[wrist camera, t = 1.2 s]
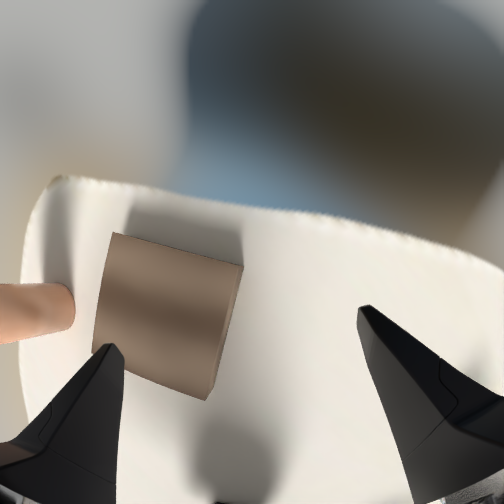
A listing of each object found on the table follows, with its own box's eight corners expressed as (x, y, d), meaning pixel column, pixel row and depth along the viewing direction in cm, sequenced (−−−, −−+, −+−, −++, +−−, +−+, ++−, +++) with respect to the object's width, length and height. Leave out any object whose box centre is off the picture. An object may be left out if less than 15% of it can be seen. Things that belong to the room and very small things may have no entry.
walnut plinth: (213, 387, 23) (205, 400, 20) (108, 346, 24) (91, 353, 21) (243, 266, 23) (238, 265, 20) (129, 236, 25) (112, 231, 22)
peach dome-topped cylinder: (72, 337, 25) (-18, 361, 12) (43, 320, 25) (-42, 332, 13) (78, 291, 25) (-19, 297, 12) (47, 277, 25) (-41, 275, 13)
